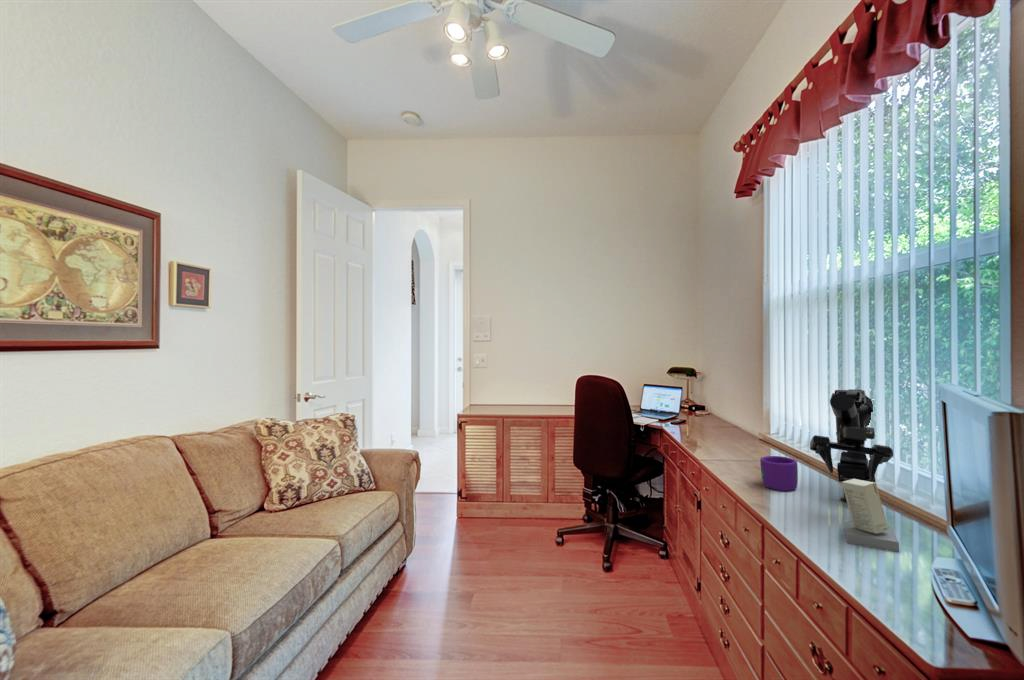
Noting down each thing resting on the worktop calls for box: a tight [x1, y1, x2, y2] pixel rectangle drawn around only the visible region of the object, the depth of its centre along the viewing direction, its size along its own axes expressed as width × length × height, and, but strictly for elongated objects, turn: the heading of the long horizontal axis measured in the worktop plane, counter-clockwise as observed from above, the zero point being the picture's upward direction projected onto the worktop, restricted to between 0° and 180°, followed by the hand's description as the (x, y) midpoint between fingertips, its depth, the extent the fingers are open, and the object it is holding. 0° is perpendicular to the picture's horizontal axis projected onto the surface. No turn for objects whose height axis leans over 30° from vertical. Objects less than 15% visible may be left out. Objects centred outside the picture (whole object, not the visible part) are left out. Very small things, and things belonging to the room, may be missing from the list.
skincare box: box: [841, 479, 889, 534], centre depth 112 cm, size 6×4×12 cm
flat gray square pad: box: [843, 520, 900, 553], centre depth 112 cm, size 10×10×3 cm
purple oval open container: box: [760, 455, 799, 492], centre depth 157 cm, size 17×11×10 cm, turn 152°
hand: (851, 476), depth 122 cm, fingers open, 9 cm apart
